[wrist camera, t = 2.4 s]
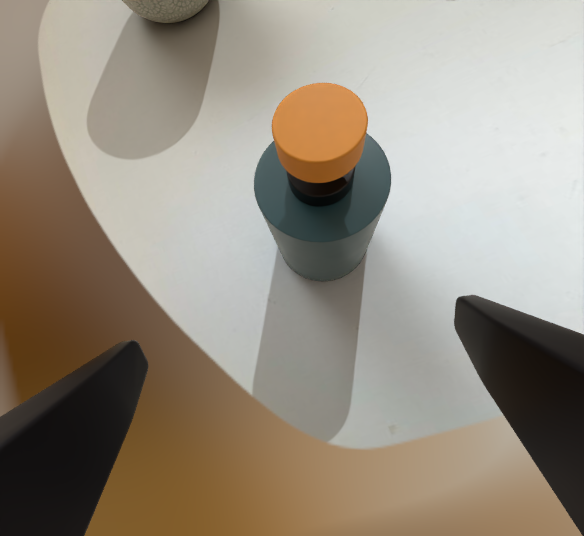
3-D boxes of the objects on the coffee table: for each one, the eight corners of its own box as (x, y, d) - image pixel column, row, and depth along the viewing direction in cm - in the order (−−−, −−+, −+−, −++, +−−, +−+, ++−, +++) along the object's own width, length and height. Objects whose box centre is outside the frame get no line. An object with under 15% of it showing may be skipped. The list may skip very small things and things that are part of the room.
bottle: (369, 280, 23) (401, 232, 13) (277, 281, 24) (244, 235, 14) (365, 196, 25) (391, 99, 15) (280, 199, 26) (252, 109, 16)
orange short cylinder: (365, 182, 12) (370, 160, 11) (275, 185, 13) (269, 165, 11) (361, 107, 13) (365, 78, 12) (278, 112, 14) (273, 85, 12)
